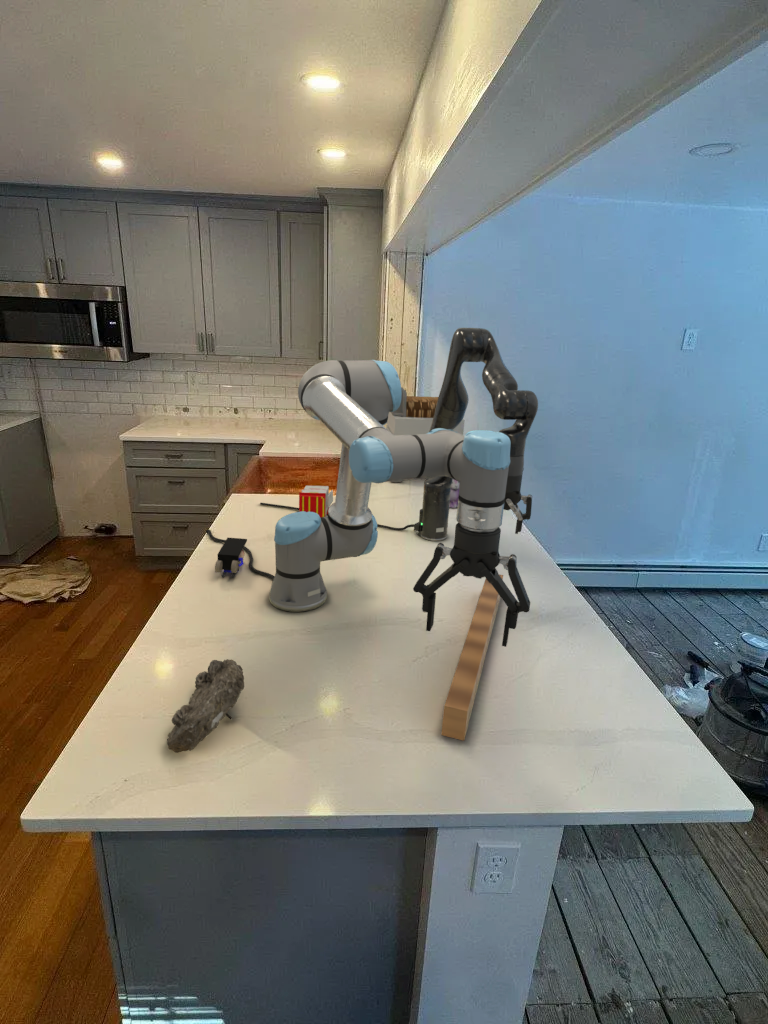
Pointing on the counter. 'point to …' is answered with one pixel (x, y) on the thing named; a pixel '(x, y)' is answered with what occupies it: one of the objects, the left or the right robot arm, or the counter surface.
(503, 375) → the right robot arm
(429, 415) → the grey crate stand
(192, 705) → the fossil
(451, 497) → the figurine
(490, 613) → the bar
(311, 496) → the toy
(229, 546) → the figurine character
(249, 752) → the counter surface
